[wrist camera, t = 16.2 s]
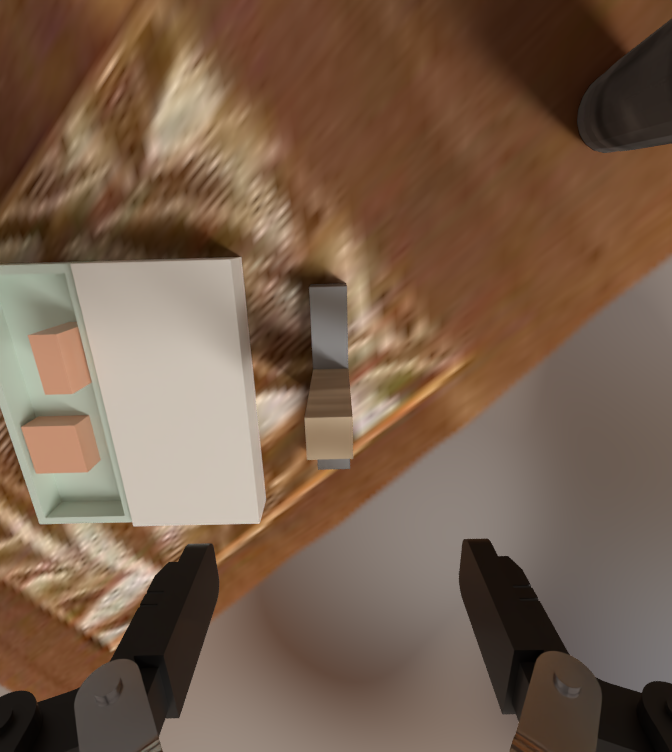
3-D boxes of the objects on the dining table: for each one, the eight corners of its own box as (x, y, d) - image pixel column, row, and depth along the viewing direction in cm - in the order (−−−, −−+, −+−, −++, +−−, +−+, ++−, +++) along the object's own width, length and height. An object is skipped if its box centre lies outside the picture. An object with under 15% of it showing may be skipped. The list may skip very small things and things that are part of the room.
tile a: (93, 321, 28) (68, 322, 28) (56, 334, 25) (27, 335, 25) (105, 374, 30) (82, 374, 30) (72, 394, 26) (45, 394, 26)
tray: (-14, 264, 28) (-47, 266, 25) (94, 260, 27) (72, 263, 25) (60, 504, 34) (39, 524, 32) (147, 502, 34) (133, 521, 32)
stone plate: (97, 261, 27) (70, 263, 25) (241, 257, 27) (230, 259, 25) (150, 502, 34) (133, 526, 31) (265, 499, 34) (259, 523, 31)
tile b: (74, 425, 29) (89, 415, 31) (20, 426, 29) (38, 416, 31) (87, 472, 30) (100, 459, 32) (36, 473, 30) (51, 461, 32)
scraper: (311, 284, 28) (298, 307, 19) (345, 283, 28) (350, 306, 19) (319, 456, 33) (312, 544, 23) (349, 455, 33) (354, 543, 23)
